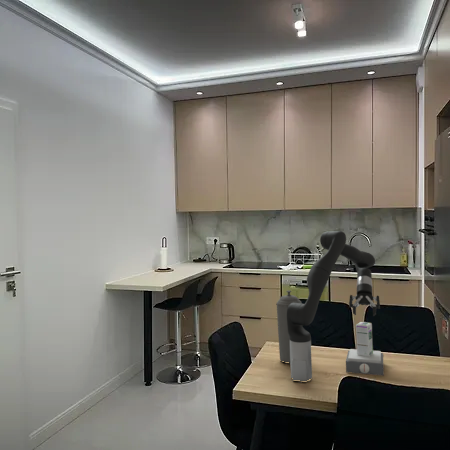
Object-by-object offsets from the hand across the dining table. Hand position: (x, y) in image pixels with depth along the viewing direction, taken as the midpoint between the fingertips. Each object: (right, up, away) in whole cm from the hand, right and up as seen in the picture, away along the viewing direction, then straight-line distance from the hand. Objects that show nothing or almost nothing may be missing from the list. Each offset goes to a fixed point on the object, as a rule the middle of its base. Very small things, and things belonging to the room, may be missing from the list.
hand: (364, 314), depth 202 cm
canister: (-34, -25, +6) cm, 43 cm away
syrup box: (-2, -17, -6) cm, 19 cm away
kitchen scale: (-2, -23, -7) cm, 24 cm away
